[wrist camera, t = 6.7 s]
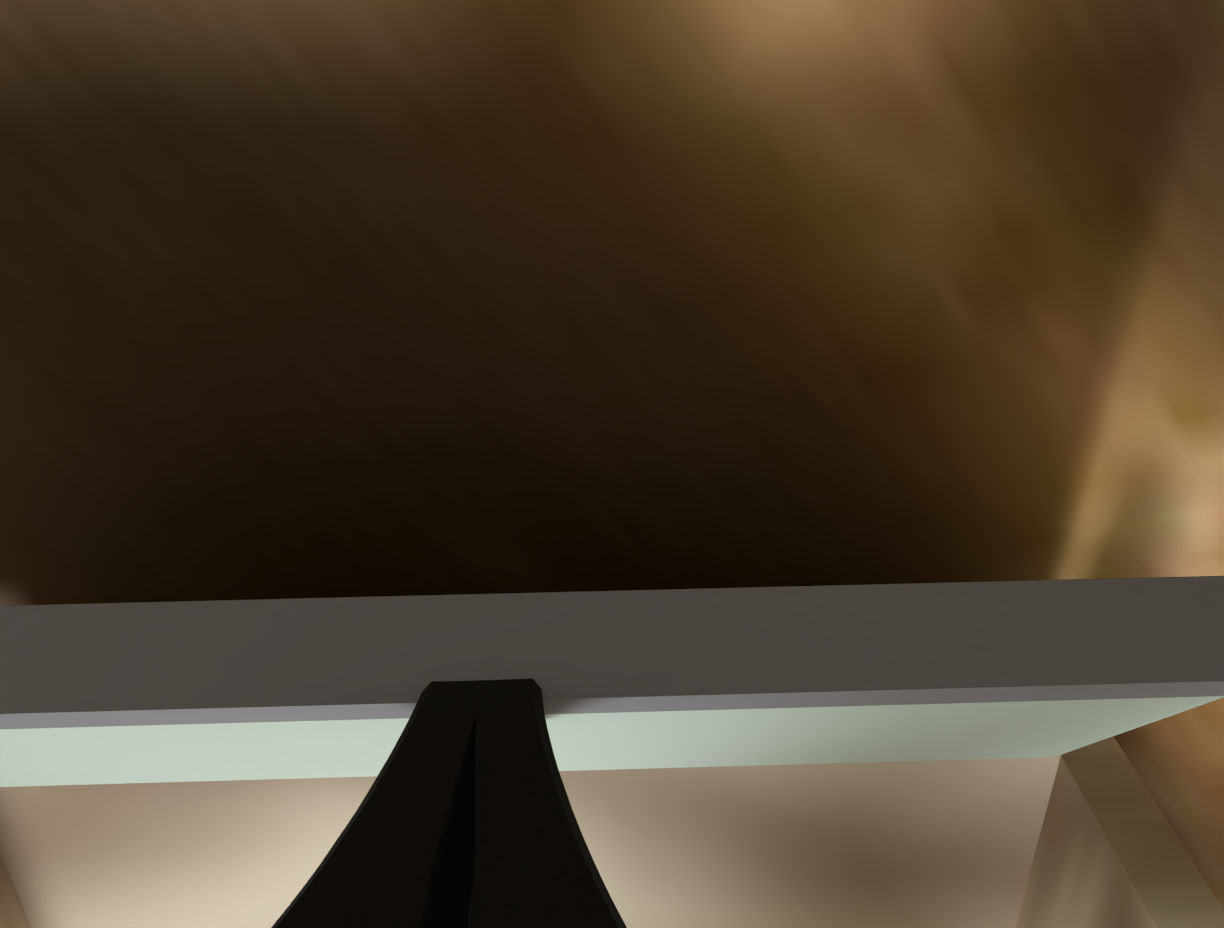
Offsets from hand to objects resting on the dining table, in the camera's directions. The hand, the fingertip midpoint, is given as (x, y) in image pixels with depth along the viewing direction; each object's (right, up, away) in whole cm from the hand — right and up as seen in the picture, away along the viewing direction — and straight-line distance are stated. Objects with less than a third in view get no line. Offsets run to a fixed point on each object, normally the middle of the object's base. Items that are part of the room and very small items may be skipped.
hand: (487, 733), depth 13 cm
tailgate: (0, -2, +6) cm, 6 cm away
